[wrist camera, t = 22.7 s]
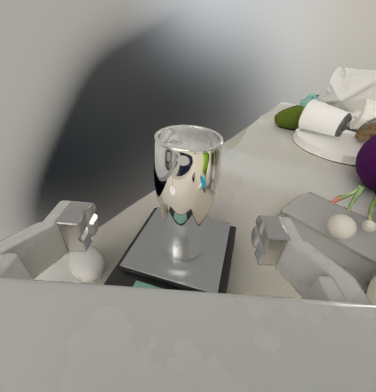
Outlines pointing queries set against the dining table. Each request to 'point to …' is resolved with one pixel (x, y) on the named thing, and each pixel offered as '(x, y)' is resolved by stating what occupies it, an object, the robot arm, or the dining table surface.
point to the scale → (134, 280)
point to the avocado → (289, 117)
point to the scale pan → (179, 269)
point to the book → (330, 246)
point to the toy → (308, 99)
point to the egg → (86, 264)
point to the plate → (330, 145)
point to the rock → (366, 131)
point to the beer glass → (186, 185)
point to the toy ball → (367, 163)
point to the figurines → (353, 229)
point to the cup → (324, 118)
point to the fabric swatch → (353, 94)
